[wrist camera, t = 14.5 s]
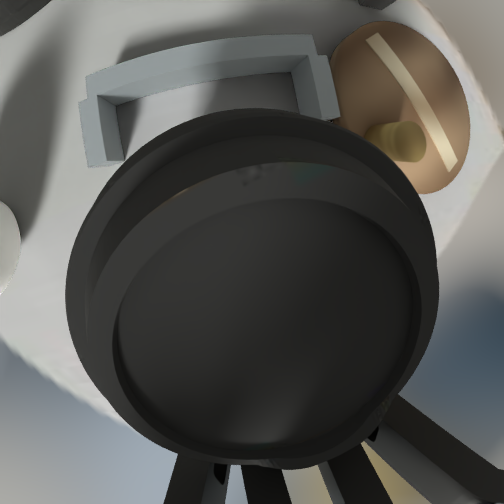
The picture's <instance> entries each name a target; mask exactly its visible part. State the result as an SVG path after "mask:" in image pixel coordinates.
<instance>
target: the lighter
mask: <svg viewBox="0 0 504 504" xmlns="http://www.w3.org/2000/svg"><path fill="white" fill-rule="evenodd" d="M358 1H359V4H360V5H363V6H368V7H372V8H377V9H381V10H382V9H384V8H385V7H387V6H389V5H390V4H392V3H393V2H395V1H396V0H358Z"/></svg>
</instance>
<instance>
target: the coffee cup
mask: <svg viewBox="0 0 504 504" xmlns="http://www.w3.org/2000/svg"><path fill="white" fill-rule="evenodd" d="M65 302H66V314H67V321H68V326H69V330H70V334H71V338H72V341H73V344H74V347H75V349H76V352H77V354H78V357H79V359H80V361H81V363H82V365H83V367H84V369H85V371H86V372H87V374H88V376H89V377H90V379H91V380H92V382H93V383H94V385H95V386H96V387H97V388H98V390H99V391H100V392H101V393H102V395H103V396H104V397H105V398H106V399H107V400H108V401H109V403H110V404H111V405H112V407H113V408H114V409H115V411H116V412H117V413H118V414H119V415H120V416H121V417H122V418H123V419H124V420H125V421H126V422H127V423H128V424H129V425H130V426H131V427H132V428H134V429H135V430H136V431H137V432H139V433H140V434H141V435H143V436H144V437H146V438H148V439H149V440H151V441H152V442H154V443H156V444H158V445H160V446H161V447H163V448H166V449H168V450H170V451H172V452H175V453H177V454H180V455H183V456H186V457H189V458H193V459H197V460H201V461H206V462H211V463H219V464H230V465H260V466H263V467H270V468H276V469H284V470H294V469H303V468H308V467H312V466H315V465H318V464H320V463H323V462H325V461H328V460H330V459H332V458H334V457H337V456H339V455H341V454H343V453H345V452H347V451H348V450H350V449H352V448H354V447H355V446H357V445H359V444H360V443H362V442H363V441H364V440H365V439H366V438H367V437H369V436H370V435H371V434H372V433H373V431H374V430H375V429H376V428H377V427H378V425H379V424H380V422H381V420H382V419H383V417H384V415H385V413H386V412H387V410H388V409H389V407H390V404H391V402H392V400H393V399H394V398H395V397H396V395H397V394H398V393H399V392H400V391H401V389H402V388H403V387H404V386H405V384H406V383H407V382H408V380H409V379H410V377H411V376H412V374H413V373H414V371H415V370H416V368H417V366H418V365H419V363H420V361H421V359H422V357H423V355H424V353H425V351H426V349H427V346H428V344H429V341H430V339H431V335H432V332H433V329H434V325H435V321H436V317H437V311H438V302H439V279H438V270H437V258H436V247H435V241H434V236H433V232H432V227H431V224H430V221H429V218H428V215H427V213H426V210H425V208H424V205H423V203H422V201H421V199H420V197H419V195H418V193H417V191H416V190H415V188H414V187H413V185H412V183H411V182H410V181H409V179H408V178H407V176H406V175H405V174H404V173H403V171H402V170H401V169H400V168H399V167H398V166H397V165H396V163H395V162H394V161H393V160H392V159H391V158H389V157H388V156H387V155H386V154H385V153H384V152H383V151H381V150H380V149H379V148H378V147H376V146H375V145H374V144H372V143H371V142H369V141H368V140H366V139H364V138H363V137H361V136H359V135H358V134H356V133H354V132H352V131H350V130H348V129H346V128H343V127H341V126H339V125H336V124H333V123H331V122H328V121H324V120H321V119H317V118H313V117H309V116H305V115H301V114H297V113H293V112H288V111H282V110H275V109H262V108H248V109H234V110H227V111H221V112H216V113H212V114H208V115H204V116H201V117H198V118H195V119H192V120H189V121H187V122H184V123H182V124H180V125H177V126H175V127H173V128H171V129H169V130H167V131H166V132H164V133H162V134H160V135H159V136H157V137H155V138H154V139H152V140H151V141H149V142H148V143H147V144H145V145H144V146H142V147H141V148H140V149H139V150H138V151H136V152H135V153H134V154H133V155H132V156H131V157H129V158H128V159H127V160H126V161H125V162H124V163H123V164H122V165H121V167H120V168H119V169H118V170H117V171H116V172H115V173H114V175H113V176H112V177H111V178H110V179H109V181H108V182H107V183H106V185H105V186H104V188H103V189H102V191H101V192H100V194H99V196H98V197H97V199H96V201H95V203H94V205H93V206H92V208H91V209H90V211H89V213H88V214H87V216H86V218H85V220H84V222H83V224H82V226H81V228H80V230H79V232H78V235H77V237H76V240H75V243H74V246H73V249H72V252H71V256H70V260H69V264H68V270H67V277H66V289H65Z"/></svg>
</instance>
